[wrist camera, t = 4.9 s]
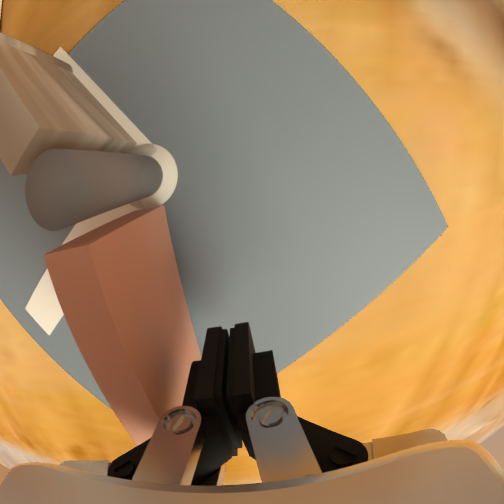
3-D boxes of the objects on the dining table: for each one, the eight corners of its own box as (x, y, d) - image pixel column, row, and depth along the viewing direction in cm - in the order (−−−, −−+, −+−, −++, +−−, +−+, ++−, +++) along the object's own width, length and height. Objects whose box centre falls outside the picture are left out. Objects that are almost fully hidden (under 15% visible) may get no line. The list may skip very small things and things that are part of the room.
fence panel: (120, 160, 12) (20, 163, 5) (159, 150, 12) (76, 137, 5) (181, 383, 15) (161, 479, 9) (213, 381, 15) (203, 481, 9)
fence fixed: (64, 58, 10) (-21, 19, 3) (140, 140, 12) (44, 120, 5) (42, 84, 10) (-47, 61, 3) (113, 170, 12) (8, 181, 5)
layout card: (188, -49, 8) (187, -53, 8) (445, 225, 14) (449, 227, 14) (-38, 234, 13) (-41, 235, 12) (158, 437, 18) (158, 441, 18)
